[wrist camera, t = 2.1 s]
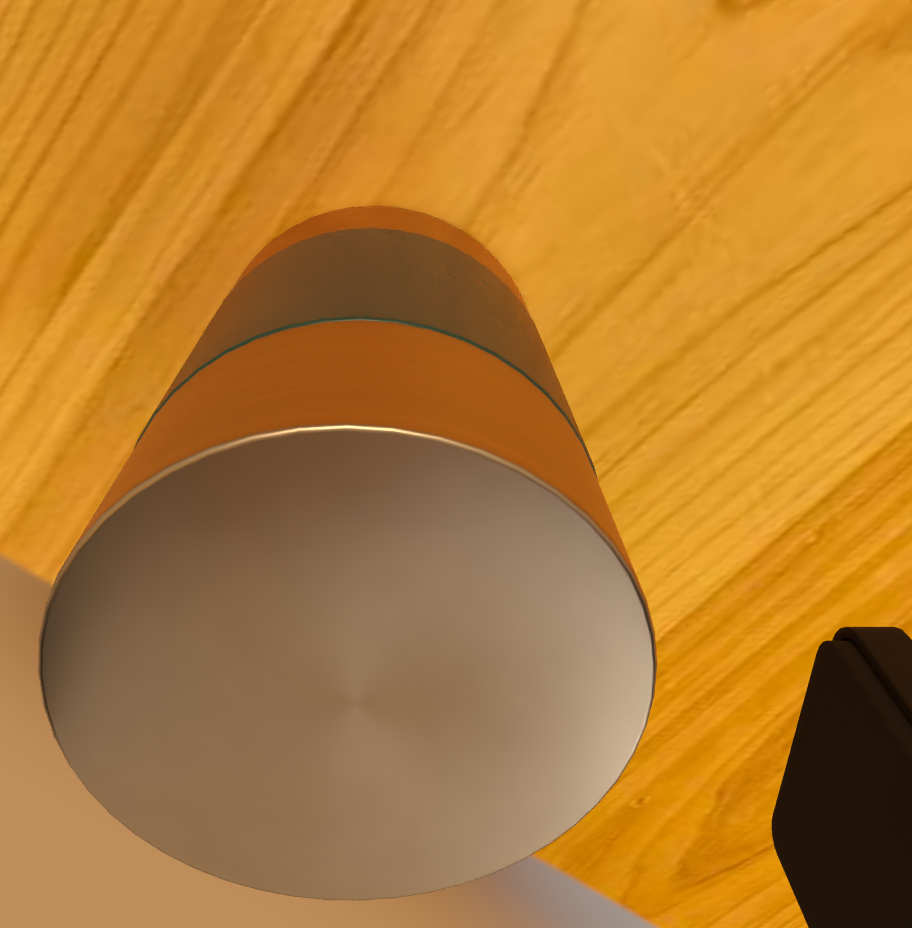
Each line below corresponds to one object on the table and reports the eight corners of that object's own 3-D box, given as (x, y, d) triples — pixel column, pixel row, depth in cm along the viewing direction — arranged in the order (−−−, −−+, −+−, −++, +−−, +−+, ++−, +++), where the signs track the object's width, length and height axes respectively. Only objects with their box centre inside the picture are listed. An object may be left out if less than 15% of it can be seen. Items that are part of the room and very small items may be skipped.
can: (200, 200, 17) (-35, 421, 8) (548, 206, 17) (706, 422, 8) (232, 504, 20) (90, 912, 11) (526, 503, 20) (623, 897, 11)
